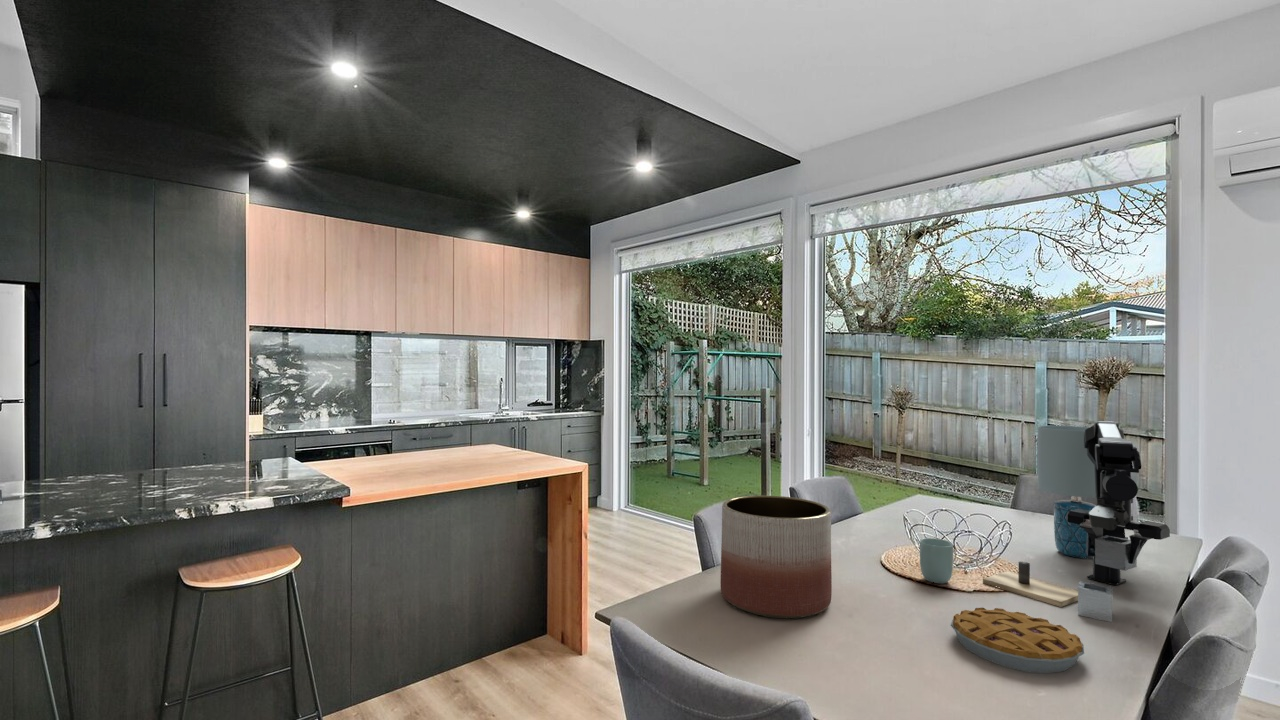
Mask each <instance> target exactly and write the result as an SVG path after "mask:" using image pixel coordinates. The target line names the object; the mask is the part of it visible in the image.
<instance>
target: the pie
mask: <svg viewBox="0 0 1280 720" xmlns="http://www.w3.org/2000/svg"><path fill="white" fill-rule="evenodd" d="M950 627H951V628H952V629H953V630H954V632H955V634H956V637H957V639H958V642H960V643H961V645H962V646H963V647H964V648H966V650H969V651H970V652H971V653H973V654H975V655H976V656H979V657H980V658H981V659H984V660H986V661H989V662H992V663H995V664H997V665H1000V666H1002V667H1005V668H1009V669H1014V670H1017V671H1021V672H1024V673H1037V674H1051V673H1059V672H1065V671H1067V670H1068V669H1070V668H1071V667H1073V666H1074V665H1075V664H1076V662H1077V660H1078V659H1079V658H1080V657H1081V656H1083V655H1084V654H1085V647H1084V643H1083V642H1082V641H1081V638H1080V637H1079V636H1078V635H1077V634H1075V633H1071V632H1069V630H1068V629H1067V628H1065V627H1064V626H1062V625H1061V624H1056V625H1055V624H1054V623H1053V624H1052V623H1050V622H1049V619H1045V618H1042V617H1034V616H1033V617H1032V616H1030V615H1028V614H1027V613H1025V612H1019V611H1015V612H1014V611H1007V610H1006V609H1004V608H999V607H998V608H997V607H996V608H994V609H986V608H985V607H976V608H975V609H974V610H967V609H964V610H961V611H960V613H959V614H958V613H955V614H954V615H953V619H952V621H951V623H950Z"/></svg>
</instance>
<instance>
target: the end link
mask: <svg viewBox="0 0 1280 720" xmlns="http://www.w3.org/2000/svg"><path fill="white" fill-rule="evenodd" d="M1130 548H1131V540H1130V539H1129V538H1128V539H1123V538H1118V537H1113V536H1108V535H1105V536H1102V537H1098V538H1095V564H1098V565H1103V566H1107V567H1111V568H1115V569H1120V571H1125V572H1126V571H1129V570H1132V569H1135V568H1137V561H1138V560H1137V559H1138V558H1137V559H1136V560H1135V562H1134V564H1130Z"/></svg>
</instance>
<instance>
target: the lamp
mask: <svg viewBox="0 0 1280 720" xmlns="http://www.w3.org/2000/svg"><path fill="white" fill-rule="evenodd" d="M1090 427H1091V426H1077V425H1074V426H1073V425H1038V426H1037V489H1038V490H1040V491H1043V492H1047V493H1050V494H1051V493H1052V494H1057V495H1061V496H1067V497H1069V496H1070V499H1060V500H1059V499H1058V500H1055V501H1054V504H1053V530H1054V542H1055V544H1054V545H1055V546H1056V547H1055V548H1056V549H1057V552H1059V553H1061V554H1062V555H1064V556H1068V557H1073V558H1079V559H1091V558H1092V559H1093V556H1088V555H1087V553H1086V539H1087V532H1086V531H1085V530H1084V529H1083V528H1080V527H1079V525H1081V524H1074V523H1069V522H1066V515H1067V512H1069V511H1070V510H1075V509H1081V510H1087V511H1091V510H1092V509H1093V508H1094V507H1096V503H1095V504H1094V503H1091V502H1086V501H1083V500H1082V498H1089V499H1096V491H1095V466H1094V464H1093V462H1092V461H1091V460H1090V459H1089V457H1088V456H1087V448H1084V433H1085V430H1086V429H1088V428H1090ZM1090 550H1093V549H1090Z"/></svg>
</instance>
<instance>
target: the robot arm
mask: <svg viewBox="0 0 1280 720" xmlns="http://www.w3.org/2000/svg"><path fill="white" fill-rule="evenodd" d="M1119 426H1120V425H1119V423H1118V422H1115V421H1111V420H1110V421H1109V420H1097V421H1094V422H1093V425H1092V426H1089V427H1090V428H1088V429H1086V430H1085V433H1084V448H1087V456H1088V457H1089V459H1090V460H1091V461H1092V462H1093V464H1094V466H1095V491H1096V498H1095V505H1096V507H1094V508H1093V509H1092V510H1091V511H1087V510H1081V509H1075V510H1070V511H1069V512H1067V515H1066V522H1069V523H1074V524H1081V525H1079V527H1080V528H1083V529H1084V530H1085V531H1086V532H1087V539H1086V553H1087V555H1088V556H1093V558H1092V574H1090V575H1087V576H1086V578H1087V579H1088V580H1093V581H1096V582H1101V583H1105V584H1107V585H1108V584H1109V585H1113V586H1118V585H1121V584H1123V583H1126V582H1127V579H1125V578H1122V577H1121V570H1120V569H1115V568H1111V567H1107V566H1103V565H1098V564H1095V538H1098V537H1102V536H1105V535H1108V536H1113V537H1118V538H1123V539H1128V540H1131V548H1130V564H1134V562H1135V560H1136V559H1138V557H1139V555H1140V552H1141V551H1142V549H1143V547H1144V546H1145V544H1146V543H1147V542H1148V540H1151V539H1152V540H1159V541H1160V540H1164V539H1167V538H1170V537H1171V536H1170V534H1171V531H1170V530H1171V529H1170V527H1169V526H1168V524H1166V523H1161V522H1155V521H1149V520H1148V521H1144V522H1140V523H1138V522H1133V521H1134V516H1133V515H1132V504H1134V499H1135V497H1136V496H1137V495H1138V491H1139V488H1138V485H1137V483H1136V482H1135V480H1133V478H1132V476H1131V473H1133V474H1134V473H1136V474H1140V470H1141V469H1142V461H1141V456H1140V451H1138V447H1136V446H1134V445H1133V442H1132V441H1130V439H1126V438H1125V437H1124V436H1125V435H1124V434H1125V433H1124V431H1123V430H1122V429H1120V427H1119ZM1125 530H1128V531H1133V534H1131V535H1128V536H1129V537H1127V536H1126V531H1125ZM1090 549H1093V550H1090Z"/></svg>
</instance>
